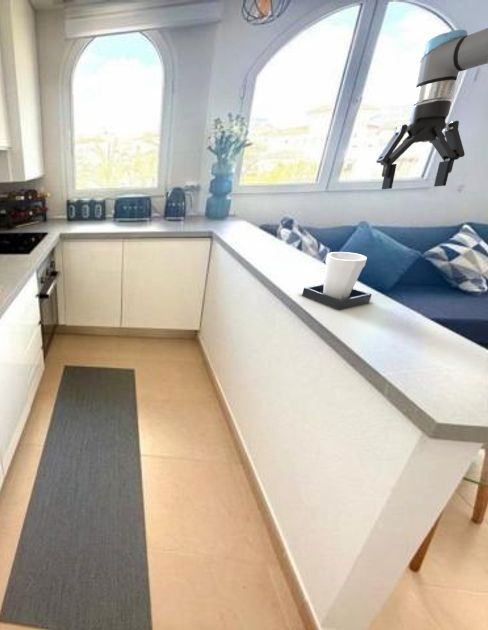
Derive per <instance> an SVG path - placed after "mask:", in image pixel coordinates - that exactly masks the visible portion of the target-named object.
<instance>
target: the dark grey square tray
mask: <svg viewBox="0 0 488 630" xmlns="http://www.w3.org/2000/svg"><path fill="white" fill-rule="evenodd" d="M323 288H324V283H320V284H314V285H309V286H306V287H303V290H302V294H301V296H302V297H305V298H308V299H310V300H312V301H314V302H317V303H320V304H322V305H325V306H327V307H330V308H333V309H335V310H337V311H339V310H344V309H347V308H353V307H357V306H360V305H365V304H368V303H370V301H371V299H372V295H373V294H372V293H369V292H367V291H364V290H360V289H357V288H354V287H353V289H352V291H351V293H350V295H349V297H348V298H346V299H342V300H339V299H337V298H334V297H331V296H328V295H326V294H323Z"/></svg>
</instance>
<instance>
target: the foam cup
mask: <svg viewBox="0 0 488 630" xmlns="http://www.w3.org/2000/svg"><path fill="white" fill-rule="evenodd" d="M367 260H368V258H367V256H366V255H363V254H360V253H355V252H348V251H333V252H332V251H331V252H329V253H327V255H326V258H325V270H324V281H323V284H324V288H323V294H326V295H328V296H331V297H334V298H337V299H339V300H342V299H346V298H348V297H349V295H350V293H351V291H352V289H353V288H354V287H355V285H356V283H357V281H358V279H359V277H360V275H361V273H362V271H363V269H364V268H366V267H365V266H366V264H367Z"/></svg>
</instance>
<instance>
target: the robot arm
mask: <svg viewBox="0 0 488 630" xmlns="http://www.w3.org/2000/svg"><path fill="white" fill-rule="evenodd" d="M487 64H488V27H487V28H484V29H481V30H478V31H476V32H473V33H470V34H468V31H467V30H466V29H454V30H450V31H447V32H443V33H440V34H438V35H436V36H434V37H431V39H429V40H428V41H427V42H426V44H425V45H424V50H423V54H422V56H421V59H420V67H419V72H418V77H417V82H416V86H415V89H414V95H413V100H412V106H413V107H412V108H411V109H410V114H409V118H408V122H409V125H408V124H401V125H399V126H396V127H395V129H394V132H393V135H392V137H391V138H390V140H389V141H388V142H387V144H386V146H385V147H384V149H383V150H382V151H381V153H380V155H379V156H378V157H377V159H376V161H375V162H376V163H377V164H380V166H382V171H381V177H382V178H383V180H382V185H381V190H391V189H393V184H394V179H395V174H396V171H397V164H398V163H395V162H396V161H397V160H398V159H399V158H400V157H401V156H402V155H403V154H404V153H405V152H406V151H407V150H408V149H409V148H410V147H411V146H412V145H414V144H416V143H427V142H428V143H430V144H432V146H433V147H434V149H435V150H436V152H437V153H438V155H439V156H440V158H441V159H442V161H440V162H439V163H438V168H437V171H436V175H435V180H434V184H433V188H434V187H443V186H444V187H445V186H446V185H447V182H448V177H449V174H451V173H452V171H453V167H454V163H455V161H456V160H459V159H460V158H463V157H465V153H466V152H465V149H464V145H463V142H462V139H461V135H460V131H459V126H460V121H459V120H454V121H450V122H447V123H446V119H447V117H448V116H449V114H450V110H451V105H452V101H451V100H452V99H453V98H454V95H455V89H456V85H457V80H458V75H459V73H460V72H463V71H467V70H470V69H474V68H477V67H480V66H483V65H487ZM406 134H408V135H407V136H406V137H405V138H404V136H405V135H406ZM403 138H404V140H402V139H403ZM401 141H402V143H401V144H400V142H401Z"/></svg>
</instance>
